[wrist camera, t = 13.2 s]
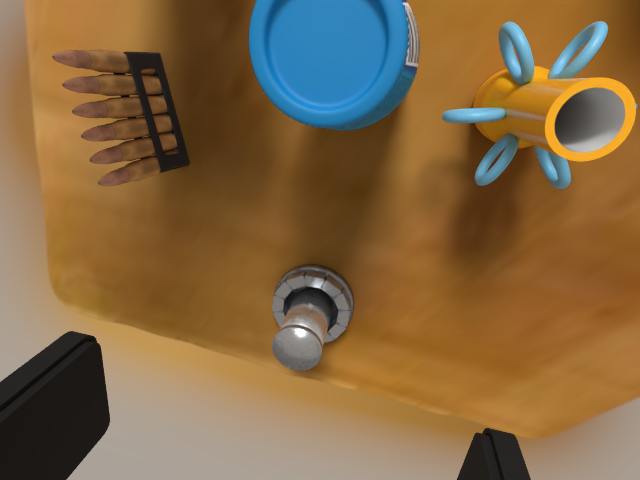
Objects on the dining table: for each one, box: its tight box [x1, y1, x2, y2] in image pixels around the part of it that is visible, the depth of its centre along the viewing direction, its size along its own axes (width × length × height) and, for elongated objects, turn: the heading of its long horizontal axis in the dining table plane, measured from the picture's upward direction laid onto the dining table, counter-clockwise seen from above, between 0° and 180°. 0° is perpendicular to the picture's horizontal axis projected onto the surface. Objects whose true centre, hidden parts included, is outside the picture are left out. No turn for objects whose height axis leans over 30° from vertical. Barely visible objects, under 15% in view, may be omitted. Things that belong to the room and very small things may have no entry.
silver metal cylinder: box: [272, 287, 333, 370], centre depth 39 cm, size 5×5×8 cm
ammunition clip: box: [52, 50, 190, 186], centre depth 33 cm, size 11×2×12 cm, turn 9°
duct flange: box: [272, 264, 354, 343], centre depth 42 cm, size 9×9×2 cm
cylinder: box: [442, 21, 637, 189], centre depth 26 cm, size 12×10×15 cm
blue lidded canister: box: [249, 0, 420, 131], centre depth 25 cm, size 8×8×20 cm
